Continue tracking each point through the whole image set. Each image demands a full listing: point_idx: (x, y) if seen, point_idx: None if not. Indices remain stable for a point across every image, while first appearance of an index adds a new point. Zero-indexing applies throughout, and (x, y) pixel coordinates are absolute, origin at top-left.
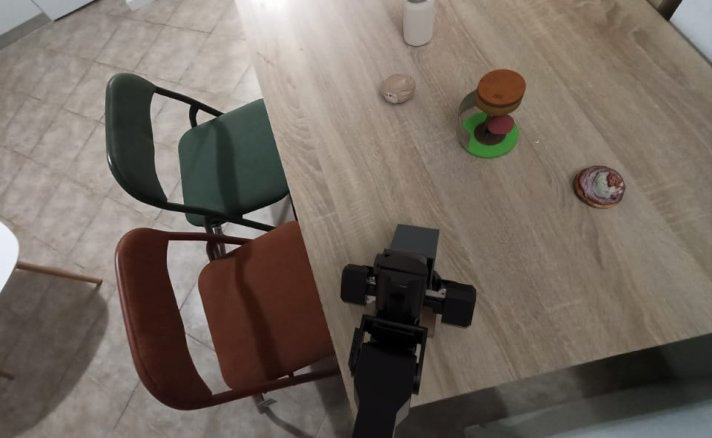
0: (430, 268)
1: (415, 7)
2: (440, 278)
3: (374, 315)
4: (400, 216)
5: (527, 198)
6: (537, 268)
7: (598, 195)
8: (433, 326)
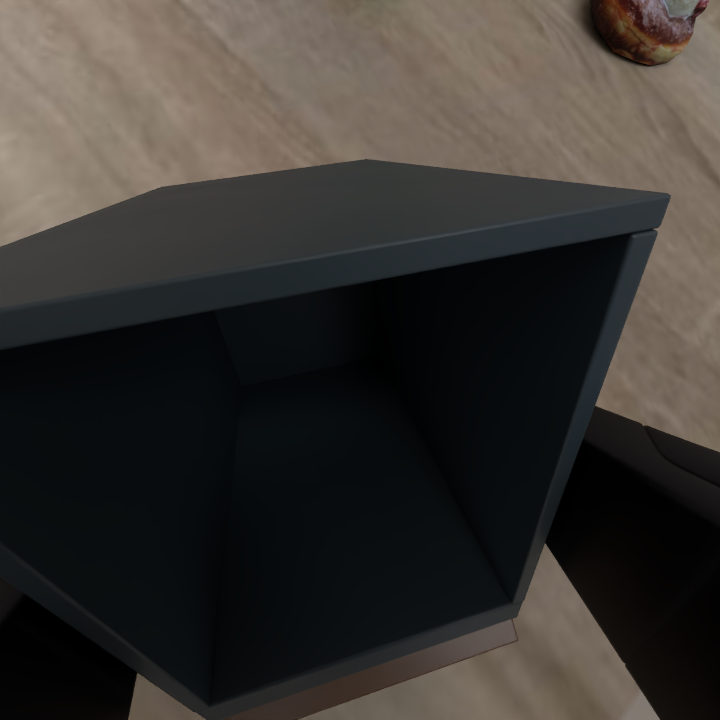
0: (372, 348)
1: None
2: (657, 439)
3: None
4: None
5: (515, 76)
6: None
7: (668, 15)
8: None
